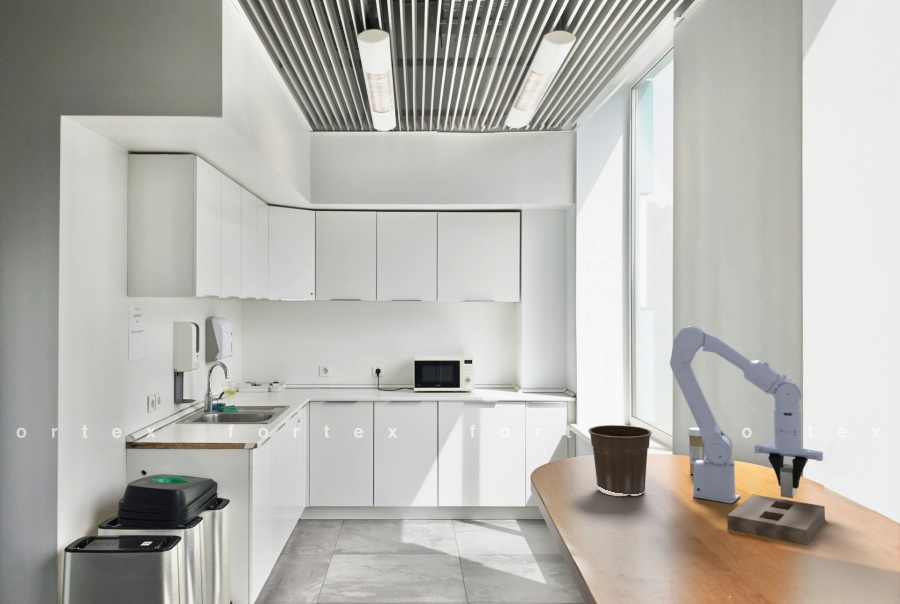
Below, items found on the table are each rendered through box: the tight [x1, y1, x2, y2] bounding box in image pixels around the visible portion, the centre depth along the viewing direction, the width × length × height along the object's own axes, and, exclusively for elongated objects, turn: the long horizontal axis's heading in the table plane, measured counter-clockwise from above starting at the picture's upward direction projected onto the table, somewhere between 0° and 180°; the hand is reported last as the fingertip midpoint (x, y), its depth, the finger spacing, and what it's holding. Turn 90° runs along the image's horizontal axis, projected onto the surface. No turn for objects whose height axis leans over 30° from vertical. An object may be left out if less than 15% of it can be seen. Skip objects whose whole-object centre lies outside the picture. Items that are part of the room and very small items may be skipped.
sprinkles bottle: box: [688, 427, 706, 475], centre depth 177 cm, size 5×5×14 cm
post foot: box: [726, 494, 826, 546], centre depth 134 cm, size 15×20×3 cm
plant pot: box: [587, 424, 653, 494], centre depth 161 cm, size 16×16×16 cm
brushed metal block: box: [779, 463, 798, 499], centre depth 148 cm, size 3×4×7 cm, turn 139°
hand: (788, 486), depth 148 cm, fingers closed on brushed metal block, 3 cm apart
